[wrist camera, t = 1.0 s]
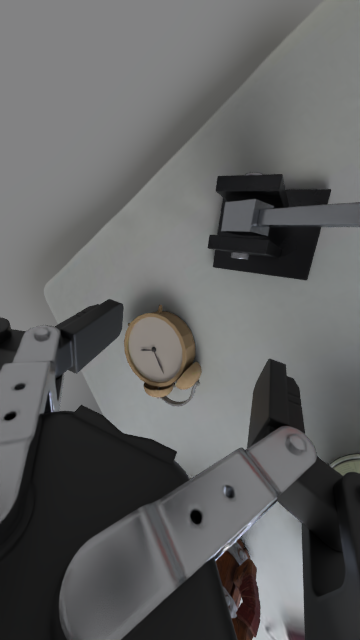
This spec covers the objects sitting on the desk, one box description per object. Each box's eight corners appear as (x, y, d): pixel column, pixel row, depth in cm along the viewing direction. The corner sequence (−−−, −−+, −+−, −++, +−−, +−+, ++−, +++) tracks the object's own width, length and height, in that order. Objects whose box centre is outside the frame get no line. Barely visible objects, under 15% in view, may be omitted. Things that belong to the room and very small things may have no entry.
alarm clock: (164, 298, 32) (205, 403, 30) (182, 299, 37) (220, 391, 34) (113, 328, 38) (144, 419, 35) (134, 326, 42) (163, 407, 39)
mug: (174, 519, 45) (135, 624, 31) (239, 500, 40) (228, 615, 26) (206, 575, 44) (181, 709, 30) (276, 563, 39) (286, 716, 25)
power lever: (511, 143, 9) (517, 117, 8) (451, 278, 11) (447, 277, 10) (248, 185, 19) (228, 177, 18) (235, 255, 21) (217, 252, 19)
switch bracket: (330, 192, 24) (354, 131, 13) (306, 279, 27) (310, 290, 16) (227, 192, 29) (179, 146, 17) (215, 267, 31) (168, 268, 20)
